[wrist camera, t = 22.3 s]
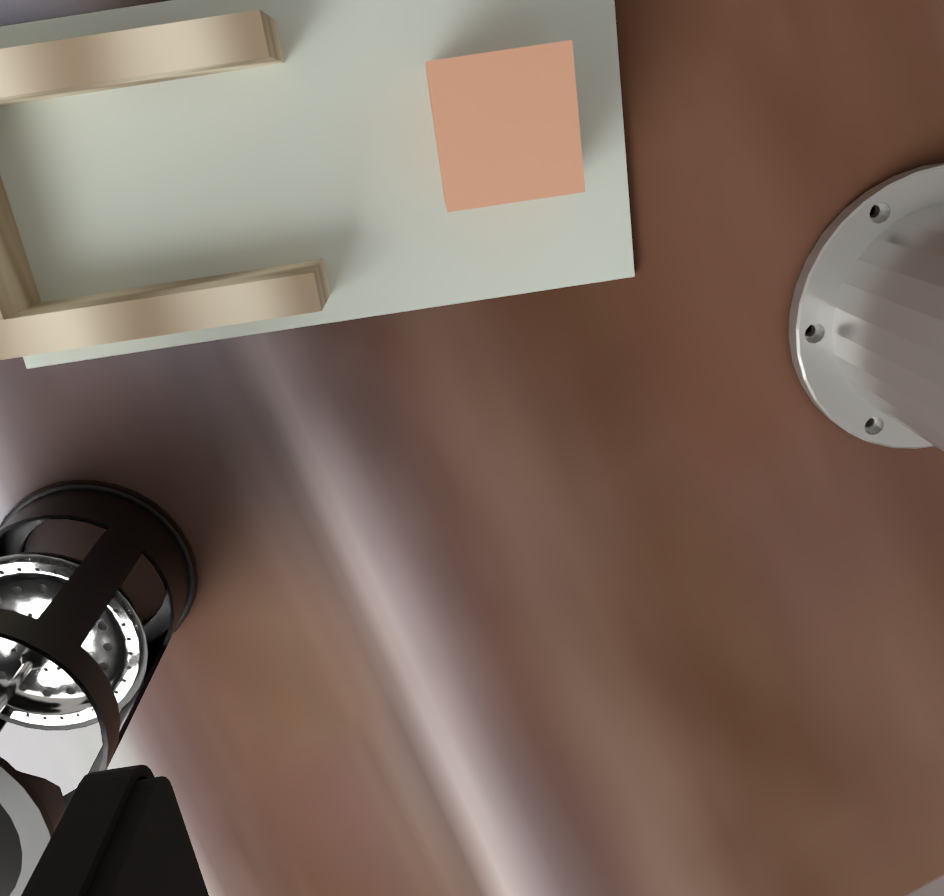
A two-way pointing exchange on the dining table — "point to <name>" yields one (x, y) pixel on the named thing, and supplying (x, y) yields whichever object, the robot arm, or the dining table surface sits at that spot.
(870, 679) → the dining table surface
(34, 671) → the french press
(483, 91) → the block
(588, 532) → the dining table surface
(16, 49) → the frame
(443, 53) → the mat
